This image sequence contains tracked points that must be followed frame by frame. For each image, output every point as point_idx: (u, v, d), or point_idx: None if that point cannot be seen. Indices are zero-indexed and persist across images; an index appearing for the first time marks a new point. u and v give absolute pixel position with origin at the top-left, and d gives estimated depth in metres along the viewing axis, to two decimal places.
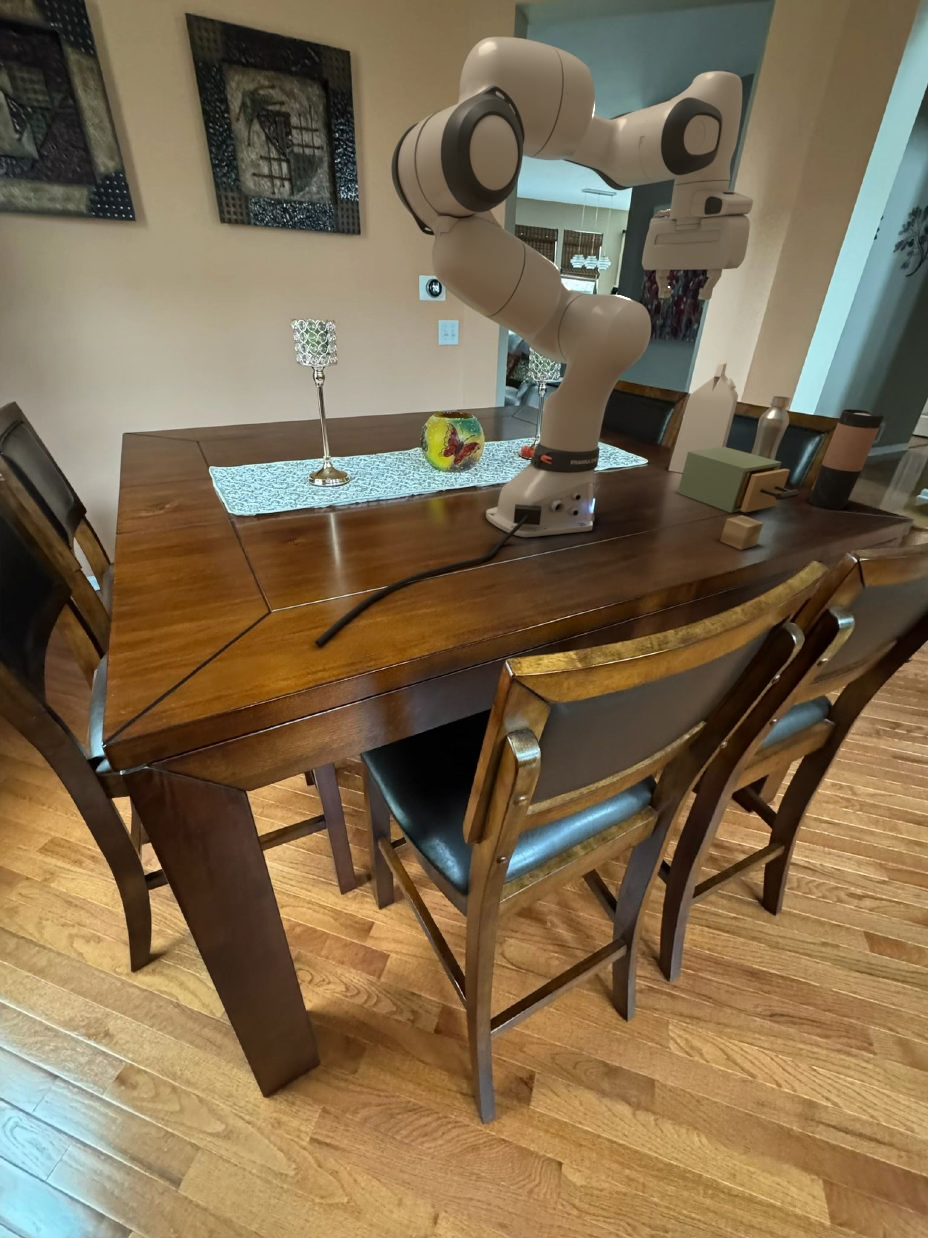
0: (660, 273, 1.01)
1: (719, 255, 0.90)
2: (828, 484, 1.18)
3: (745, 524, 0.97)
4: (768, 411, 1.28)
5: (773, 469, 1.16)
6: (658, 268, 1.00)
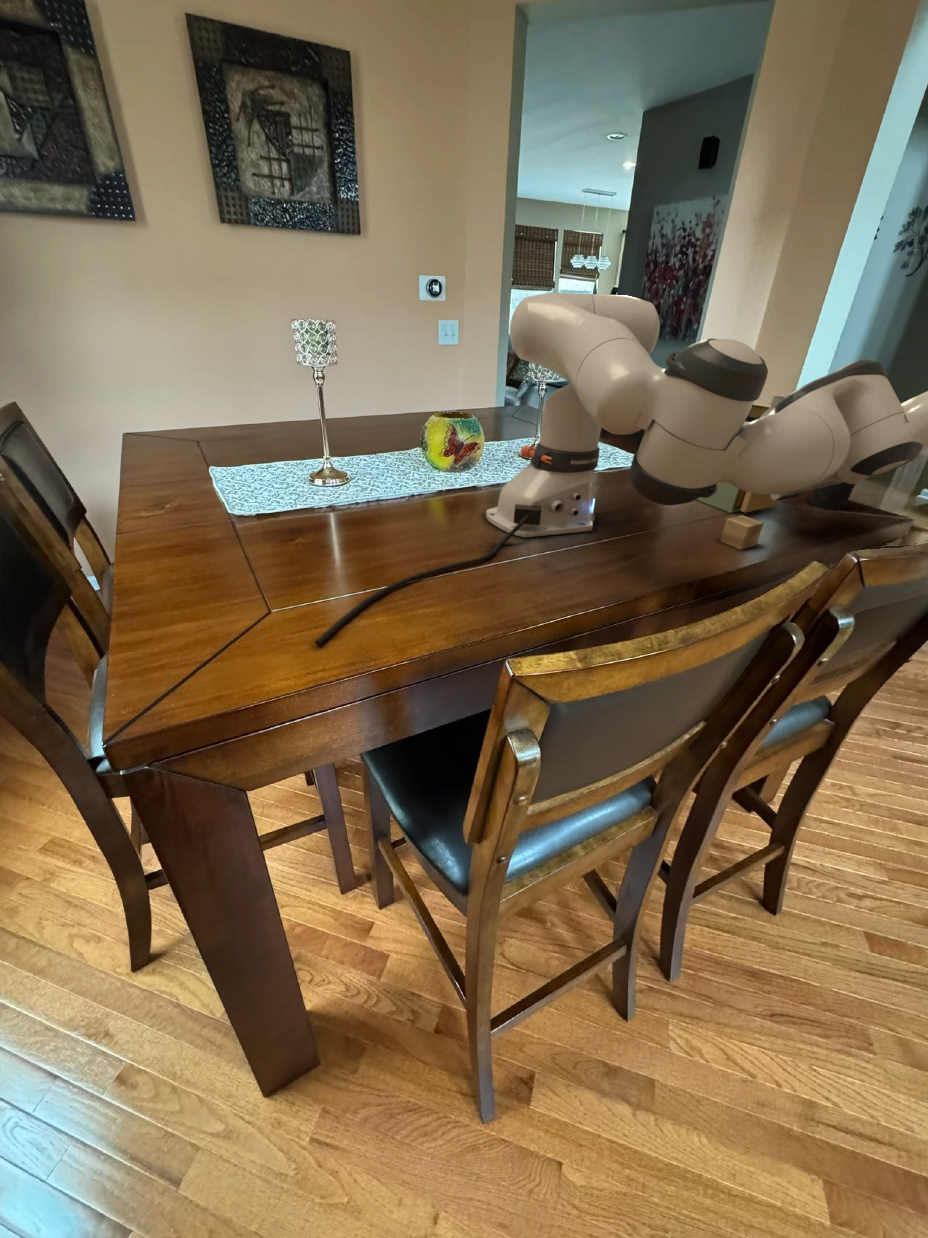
0: None
1: None
2: None
3: (745, 524, 0.97)
4: (768, 411, 1.28)
5: None
6: None
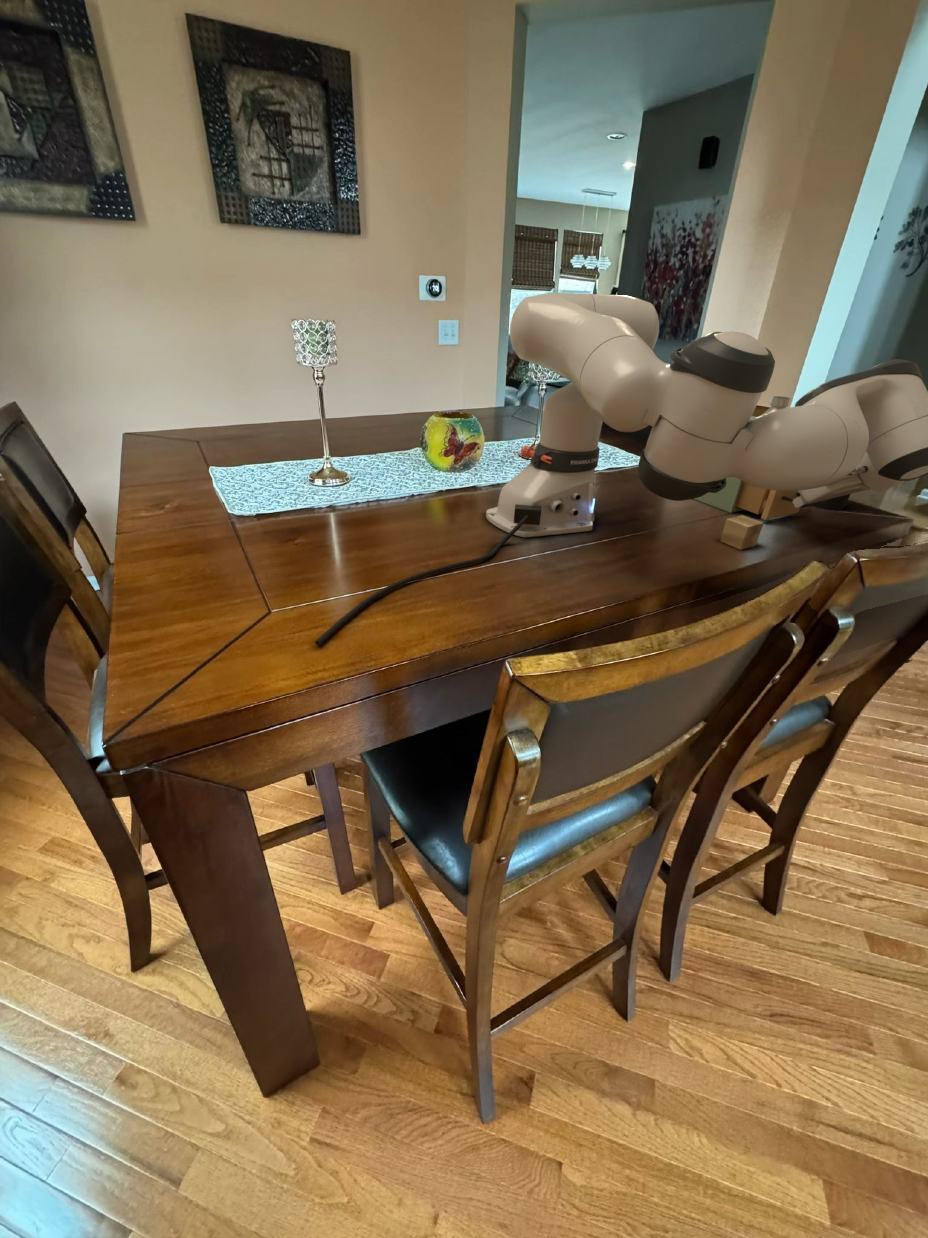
0: None
1: None
2: None
3: (745, 524, 0.97)
4: (768, 411, 1.28)
5: None
6: None
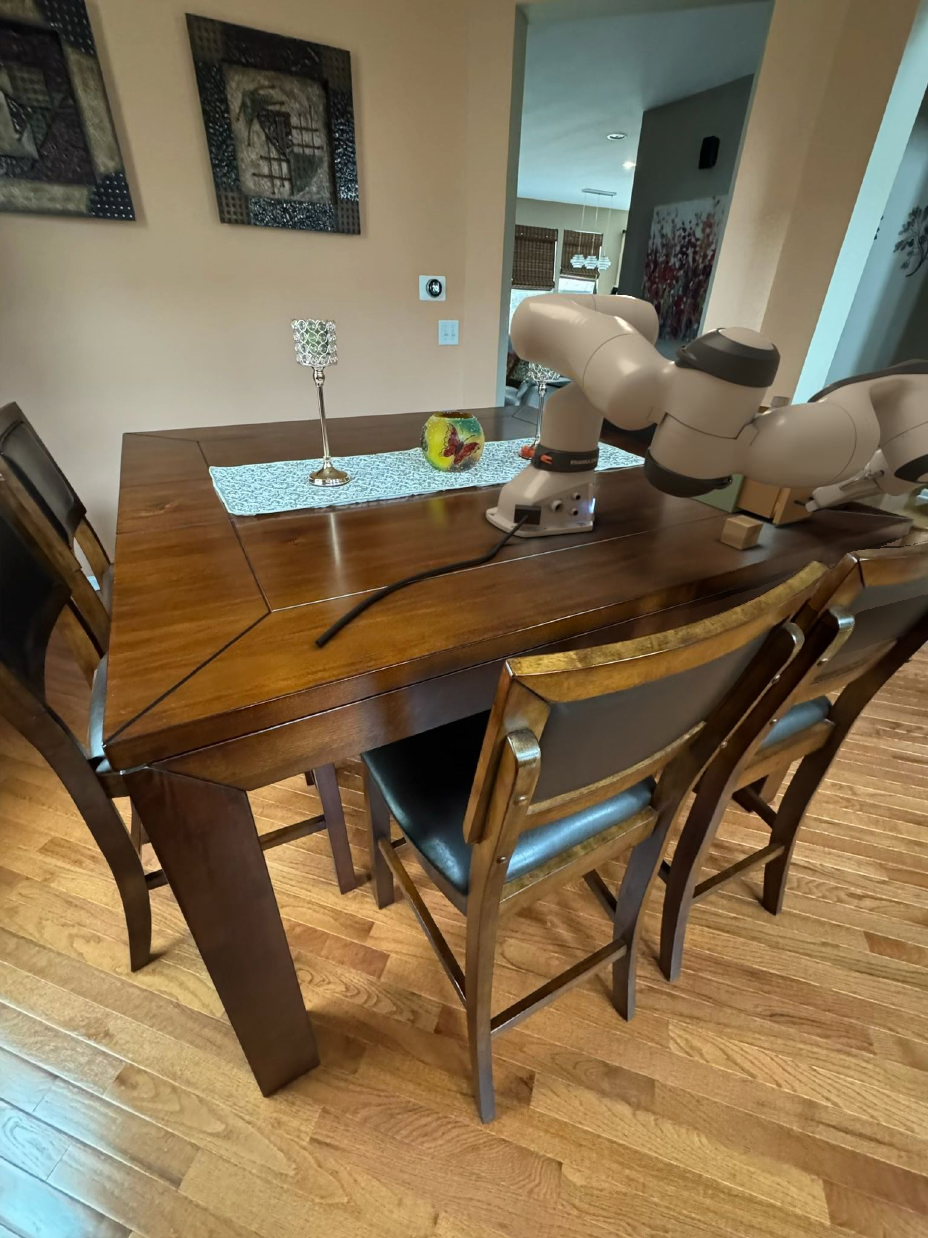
0: None
1: None
2: None
3: (745, 524, 0.97)
4: None
5: None
6: None
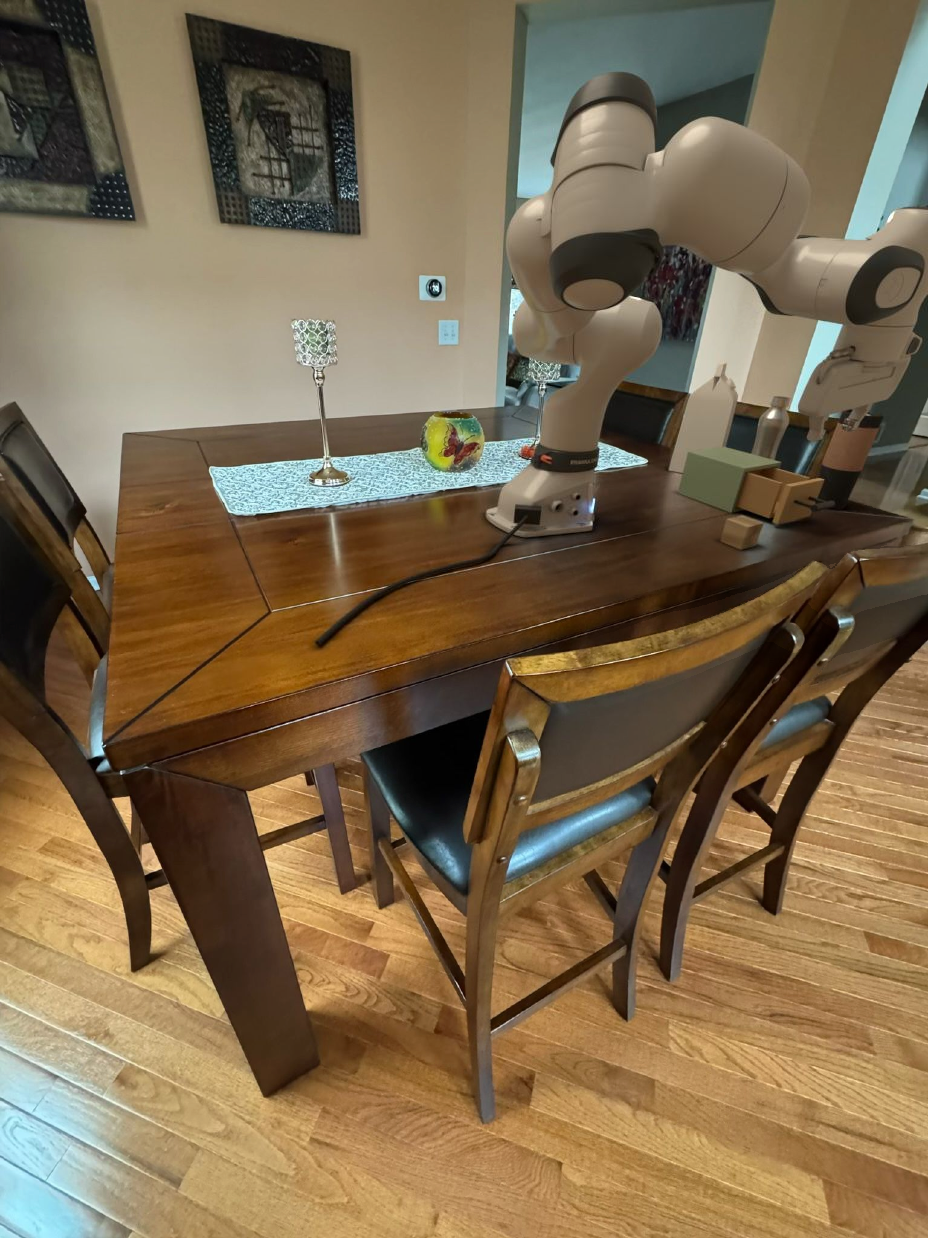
0: (827, 417, 0.84)
1: (888, 389, 0.86)
2: (828, 484, 1.18)
3: (745, 524, 0.97)
4: (768, 411, 1.28)
5: (806, 478, 1.10)
6: (833, 413, 0.83)
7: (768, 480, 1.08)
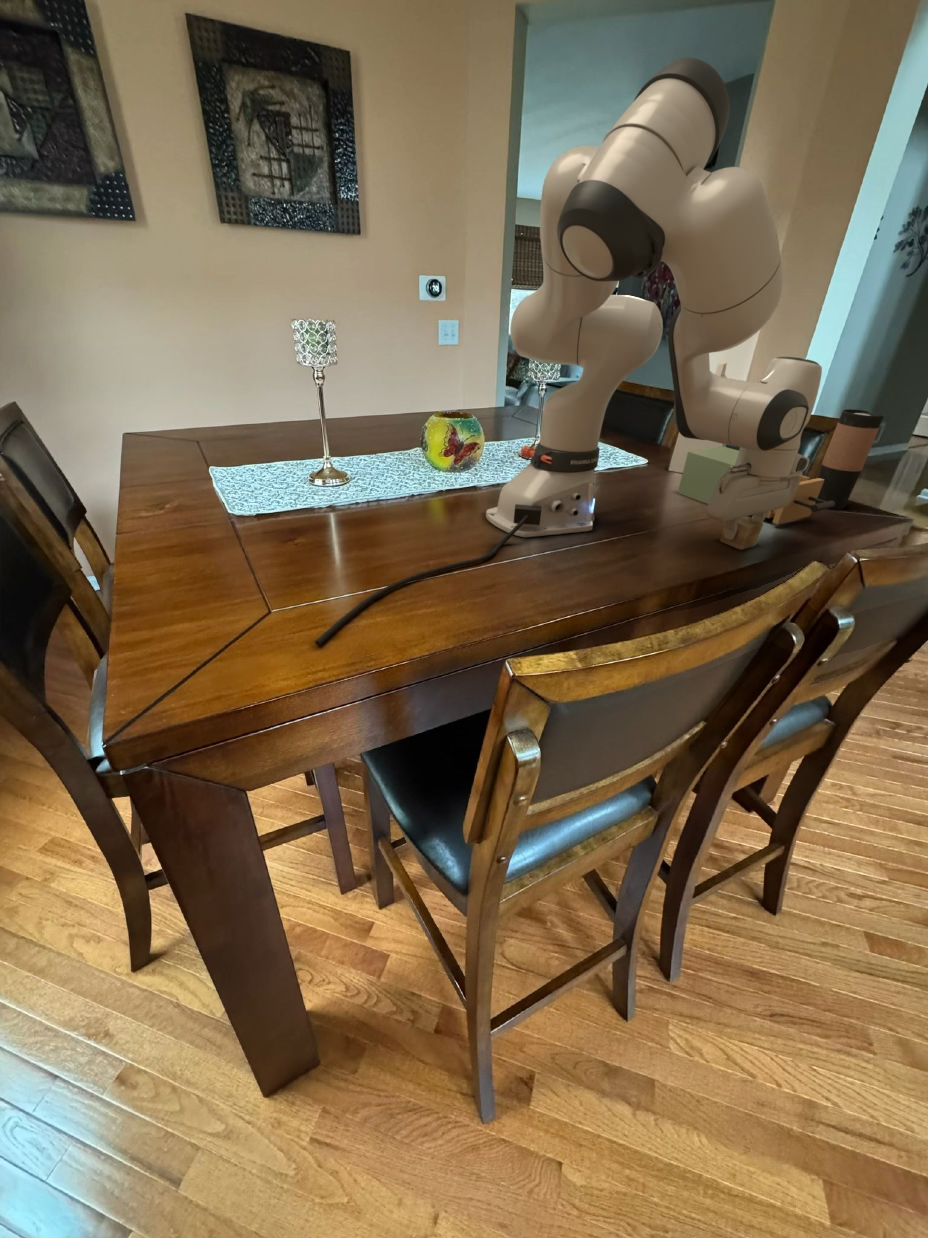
0: (739, 519, 0.95)
1: (786, 498, 0.98)
2: (828, 484, 1.18)
3: (745, 524, 0.97)
4: None
5: (806, 478, 1.10)
6: (737, 518, 0.94)
7: None
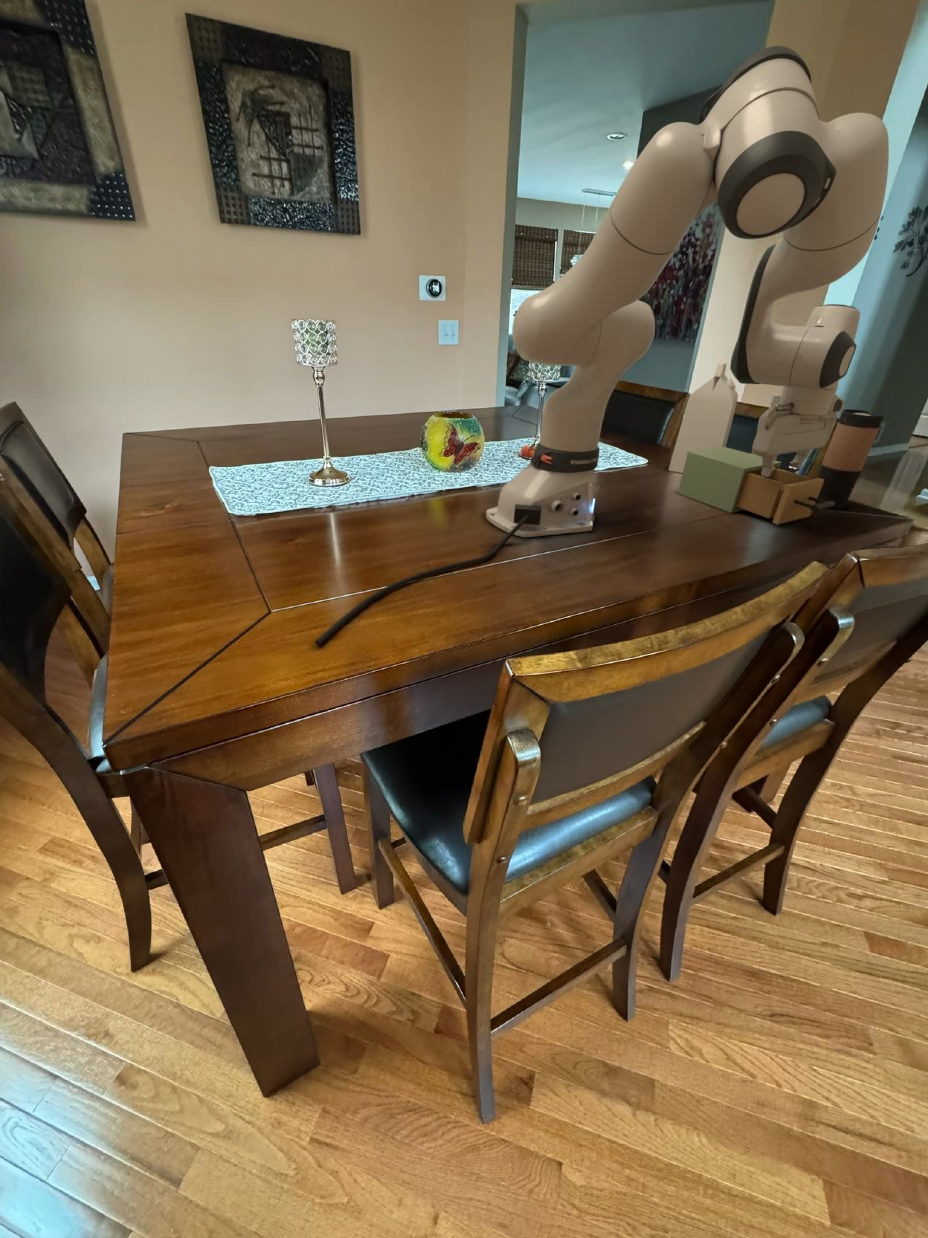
0: (776, 457, 1.05)
1: (822, 439, 1.09)
2: (828, 484, 1.18)
3: None
4: (768, 411, 1.28)
5: (806, 478, 1.10)
6: None
7: (768, 480, 1.08)
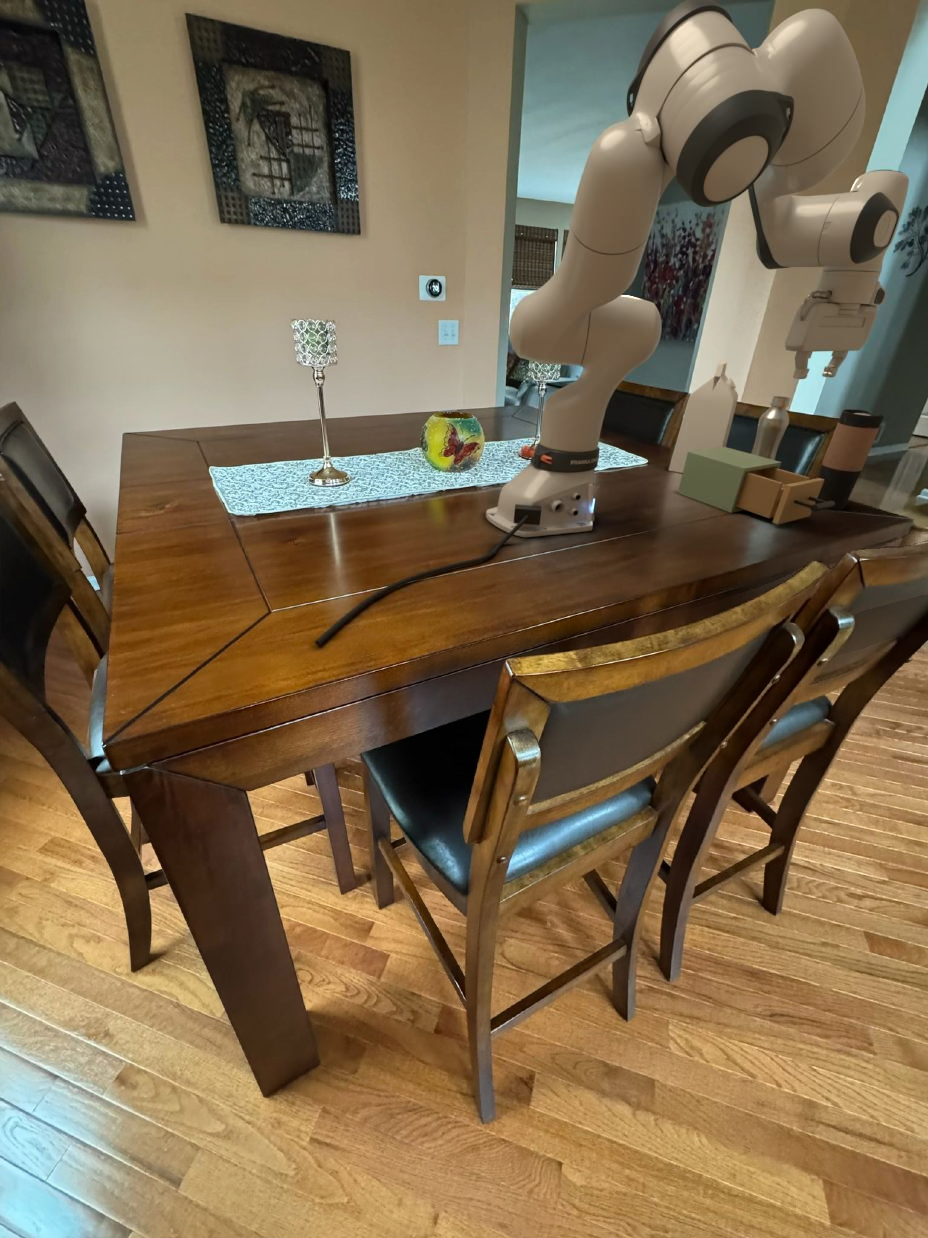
0: (810, 355, 0.96)
1: (860, 339, 1.00)
2: (828, 484, 1.18)
3: None
4: (768, 411, 1.28)
5: (806, 478, 1.10)
6: (815, 350, 0.95)
7: (768, 480, 1.08)
